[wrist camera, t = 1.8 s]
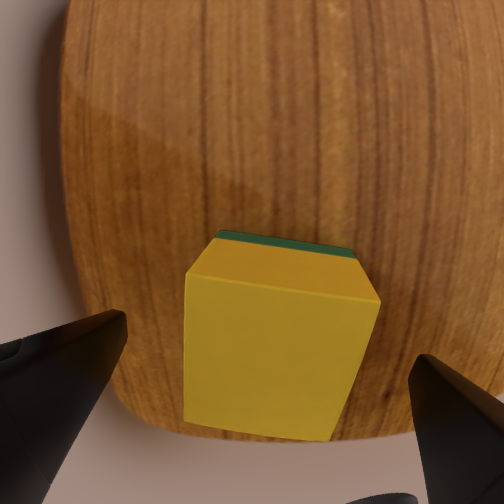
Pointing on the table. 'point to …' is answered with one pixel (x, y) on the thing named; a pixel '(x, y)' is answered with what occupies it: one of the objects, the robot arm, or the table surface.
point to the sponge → (274, 335)
